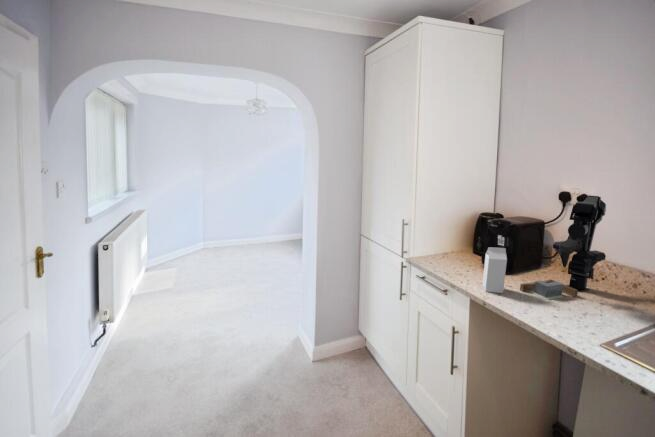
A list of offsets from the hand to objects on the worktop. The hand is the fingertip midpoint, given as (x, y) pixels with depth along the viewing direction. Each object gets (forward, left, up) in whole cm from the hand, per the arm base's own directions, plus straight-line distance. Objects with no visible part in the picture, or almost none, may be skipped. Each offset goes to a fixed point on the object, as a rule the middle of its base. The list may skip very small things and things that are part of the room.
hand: (574, 270), depth 154 cm
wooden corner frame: (+6, -6, -12) cm, 15 cm away
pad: (+6, -6, -12) cm, 15 cm away
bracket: (+6, -6, -12) cm, 14 cm away
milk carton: (+25, -17, -12) cm, 33 cm away
